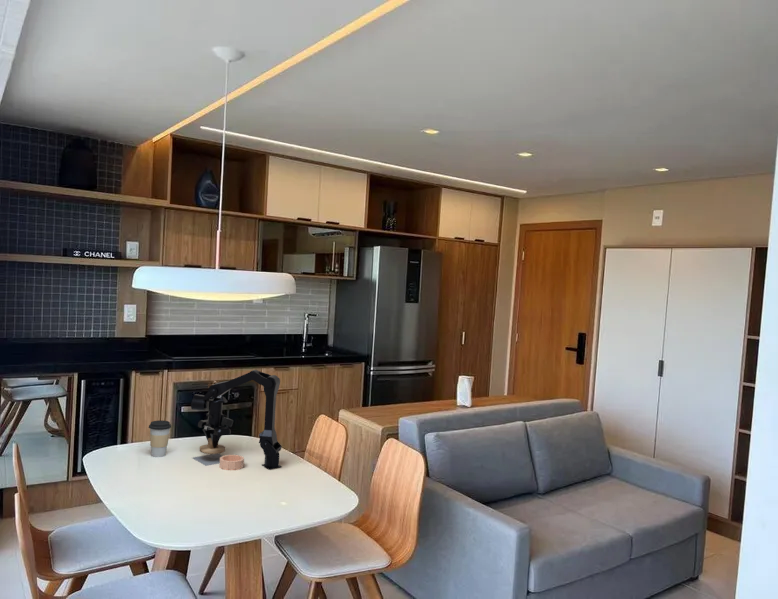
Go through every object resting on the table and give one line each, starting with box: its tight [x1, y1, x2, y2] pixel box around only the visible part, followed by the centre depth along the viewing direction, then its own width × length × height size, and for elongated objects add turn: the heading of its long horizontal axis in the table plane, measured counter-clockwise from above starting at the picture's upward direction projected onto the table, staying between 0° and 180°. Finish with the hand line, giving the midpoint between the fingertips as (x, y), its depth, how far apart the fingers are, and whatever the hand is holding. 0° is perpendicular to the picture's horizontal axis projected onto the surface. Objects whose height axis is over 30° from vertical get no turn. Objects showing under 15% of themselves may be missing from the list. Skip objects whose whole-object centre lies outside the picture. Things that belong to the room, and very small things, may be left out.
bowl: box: [219, 454, 245, 471], centre depth 252 cm, size 10×10×4 cm
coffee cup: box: [148, 419, 172, 458], centre depth 260 cm, size 9×9×15 cm
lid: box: [199, 438, 226, 455], centre depth 260 cm, size 11×11×5 cm
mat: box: [192, 453, 223, 467], centre depth 260 cm, size 13×13×1 cm
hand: (212, 446), depth 260 cm, fingers closed on lid, 3 cm apart
